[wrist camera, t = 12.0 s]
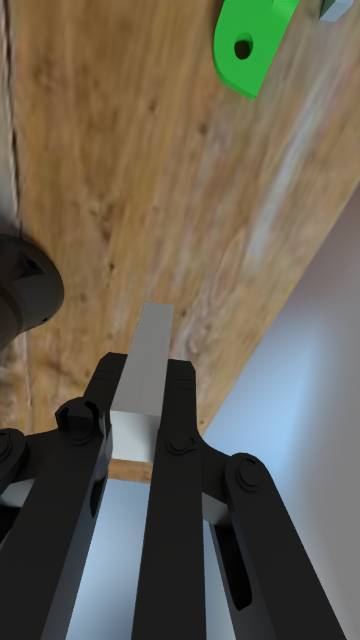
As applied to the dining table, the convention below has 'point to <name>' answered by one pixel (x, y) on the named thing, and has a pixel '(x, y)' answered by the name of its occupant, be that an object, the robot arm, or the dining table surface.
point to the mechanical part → (249, 40)
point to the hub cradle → (334, 9)
